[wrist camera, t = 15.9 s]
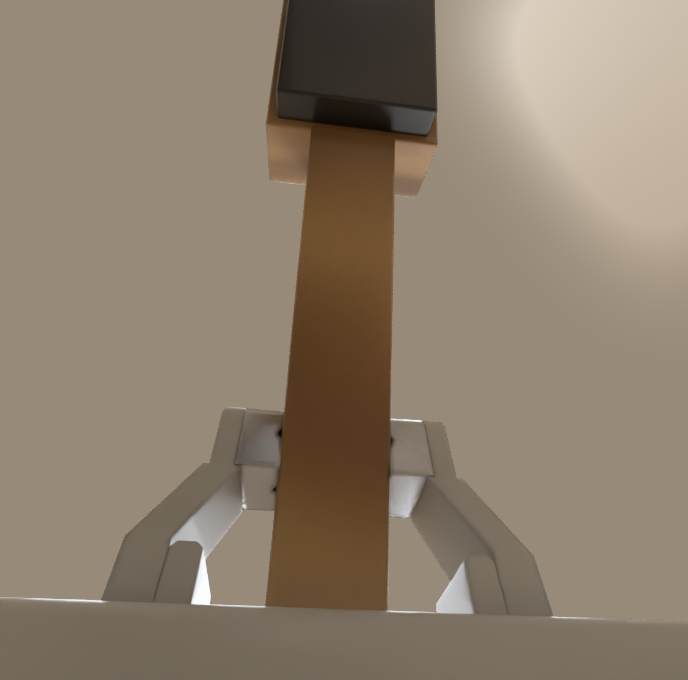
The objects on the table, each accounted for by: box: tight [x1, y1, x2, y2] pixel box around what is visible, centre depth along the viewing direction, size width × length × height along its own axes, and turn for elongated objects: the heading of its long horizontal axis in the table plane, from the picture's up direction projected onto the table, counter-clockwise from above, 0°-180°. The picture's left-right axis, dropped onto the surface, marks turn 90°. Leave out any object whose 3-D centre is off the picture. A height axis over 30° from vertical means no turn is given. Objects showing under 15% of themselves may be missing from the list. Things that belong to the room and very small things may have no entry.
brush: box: [265, 0, 437, 611], centre depth 13 cm, size 21×5×4 cm, turn 3°
